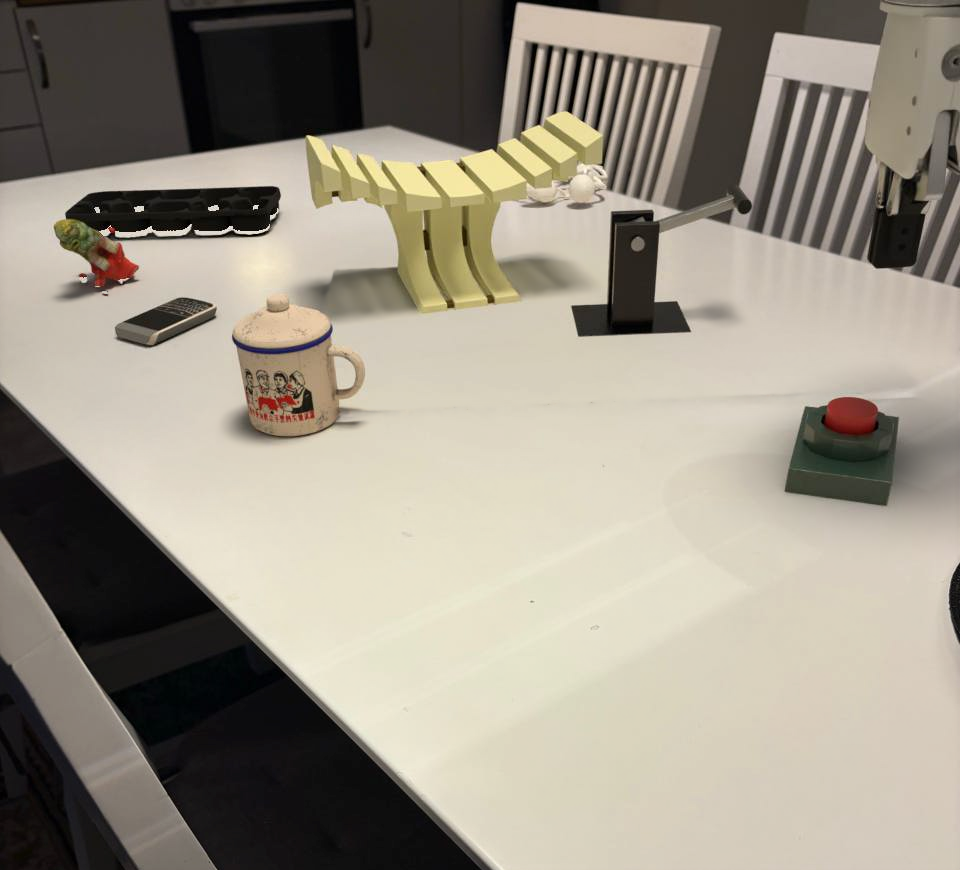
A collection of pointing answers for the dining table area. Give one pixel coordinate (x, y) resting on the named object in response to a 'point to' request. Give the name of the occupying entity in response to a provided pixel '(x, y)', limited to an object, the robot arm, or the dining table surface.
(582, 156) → the slatted curved stool
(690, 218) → the lever handle
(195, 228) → the egg carton
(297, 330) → the teacup with lid
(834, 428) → the button
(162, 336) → the cell phone
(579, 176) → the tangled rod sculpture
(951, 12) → the robot arm
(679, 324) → the lever bracket
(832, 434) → the button block
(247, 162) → the dining table surface
